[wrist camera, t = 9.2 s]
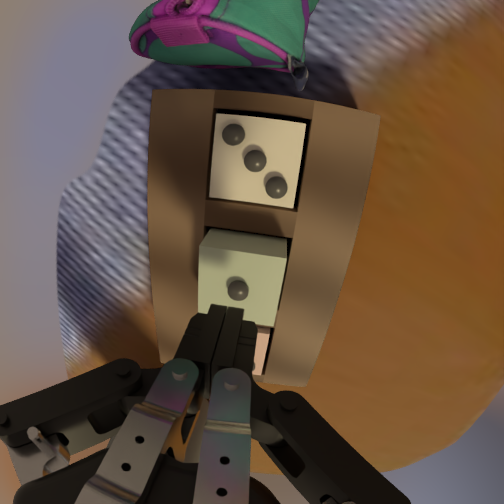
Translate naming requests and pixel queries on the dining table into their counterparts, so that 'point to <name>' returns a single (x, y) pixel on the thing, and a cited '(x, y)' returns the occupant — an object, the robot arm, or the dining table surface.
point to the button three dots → (256, 159)
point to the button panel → (256, 216)
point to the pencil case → (226, 34)
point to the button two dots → (260, 349)
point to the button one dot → (242, 273)
